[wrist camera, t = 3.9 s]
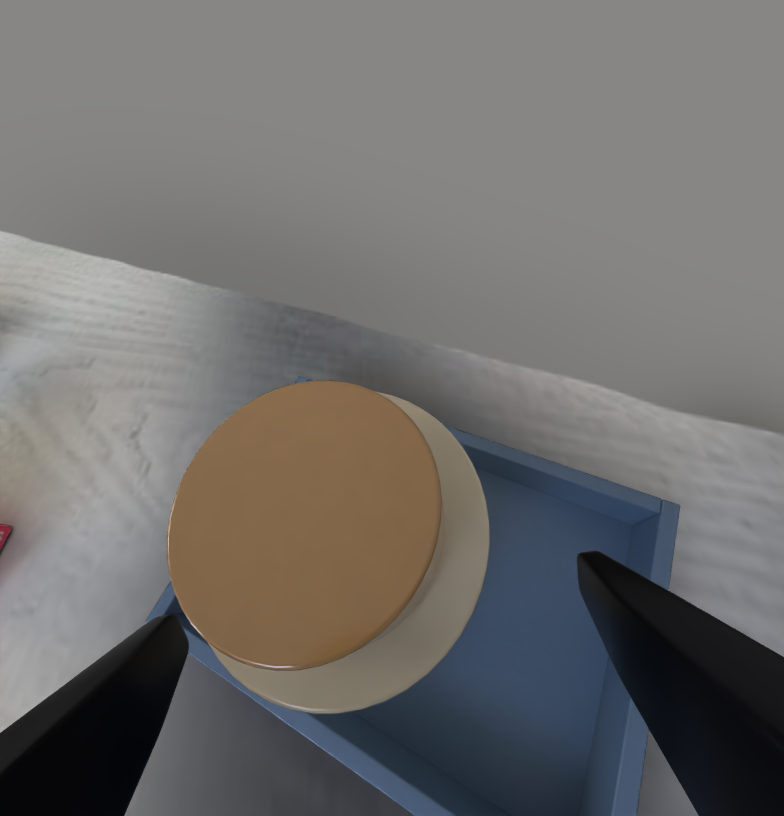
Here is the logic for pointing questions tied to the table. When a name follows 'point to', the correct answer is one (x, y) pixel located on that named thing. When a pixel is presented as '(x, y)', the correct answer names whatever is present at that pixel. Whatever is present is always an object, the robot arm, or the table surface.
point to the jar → (329, 545)
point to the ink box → (4, 533)
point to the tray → (511, 662)
